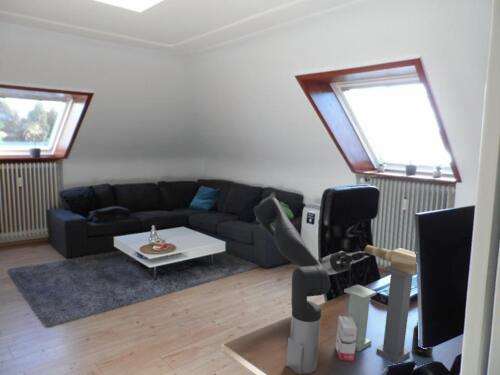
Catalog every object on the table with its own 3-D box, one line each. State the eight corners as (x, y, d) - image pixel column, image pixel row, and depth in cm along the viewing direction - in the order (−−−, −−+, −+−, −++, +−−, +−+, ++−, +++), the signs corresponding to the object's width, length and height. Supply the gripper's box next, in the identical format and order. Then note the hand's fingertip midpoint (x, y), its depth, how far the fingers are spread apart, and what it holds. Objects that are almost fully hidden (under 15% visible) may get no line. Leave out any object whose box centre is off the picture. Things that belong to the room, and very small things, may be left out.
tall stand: (397, 363, 131) (407, 274, 126) (376, 352, 137) (385, 267, 132) (409, 355, 136) (419, 270, 131) (388, 344, 142) (397, 263, 137)
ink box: (354, 361, 131) (357, 328, 129) (339, 360, 131) (342, 327, 129) (349, 347, 139) (352, 316, 137) (335, 346, 139) (337, 315, 137)
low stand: (358, 351, 136) (363, 297, 133) (339, 341, 142) (344, 289, 139) (371, 344, 142) (376, 292, 139) (352, 334, 148) (357, 284, 145)
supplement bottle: (414, 345, 143) (418, 314, 141) (434, 352, 138) (438, 320, 136) (408, 352, 137) (412, 320, 135) (429, 360, 133) (433, 327, 131)
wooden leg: (412, 274, 126) (415, 257, 125) (362, 258, 140) (364, 242, 140) (420, 271, 129) (422, 254, 128) (370, 255, 144) (372, 240, 143)
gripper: (321, 257, 149) (353, 245, 137) (343, 250, 158) (376, 240, 147) (327, 276, 147) (361, 266, 136) (350, 269, 156) (383, 259, 145)
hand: (369, 252), depth 141 cm, fingers open, 8 cm apart
